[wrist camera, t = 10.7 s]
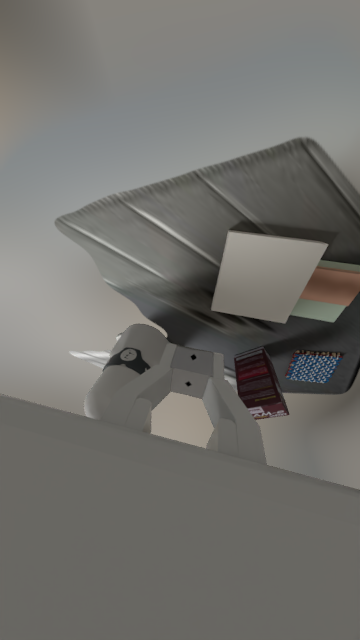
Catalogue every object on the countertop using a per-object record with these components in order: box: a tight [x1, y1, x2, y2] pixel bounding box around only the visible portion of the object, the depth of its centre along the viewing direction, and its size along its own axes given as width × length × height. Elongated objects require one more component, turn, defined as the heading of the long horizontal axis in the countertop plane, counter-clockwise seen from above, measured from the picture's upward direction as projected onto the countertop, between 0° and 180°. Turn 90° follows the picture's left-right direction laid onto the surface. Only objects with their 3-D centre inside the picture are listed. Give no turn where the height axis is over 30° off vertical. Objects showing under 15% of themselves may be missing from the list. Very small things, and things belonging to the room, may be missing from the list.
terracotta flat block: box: [299, 266, 360, 306], centre depth 32 cm, size 6×9×2 cm, turn 85°
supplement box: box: [234, 347, 289, 420], centre depth 41 cm, size 9×5×16 cm, turn 127°
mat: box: [290, 260, 360, 322], centre depth 34 cm, size 12×10×1 cm
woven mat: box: [285, 350, 343, 383], centre depth 45 cm, size 10×11×2 cm
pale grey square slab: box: [211, 230, 329, 324], centre depth 34 cm, size 16×16×3 cm
